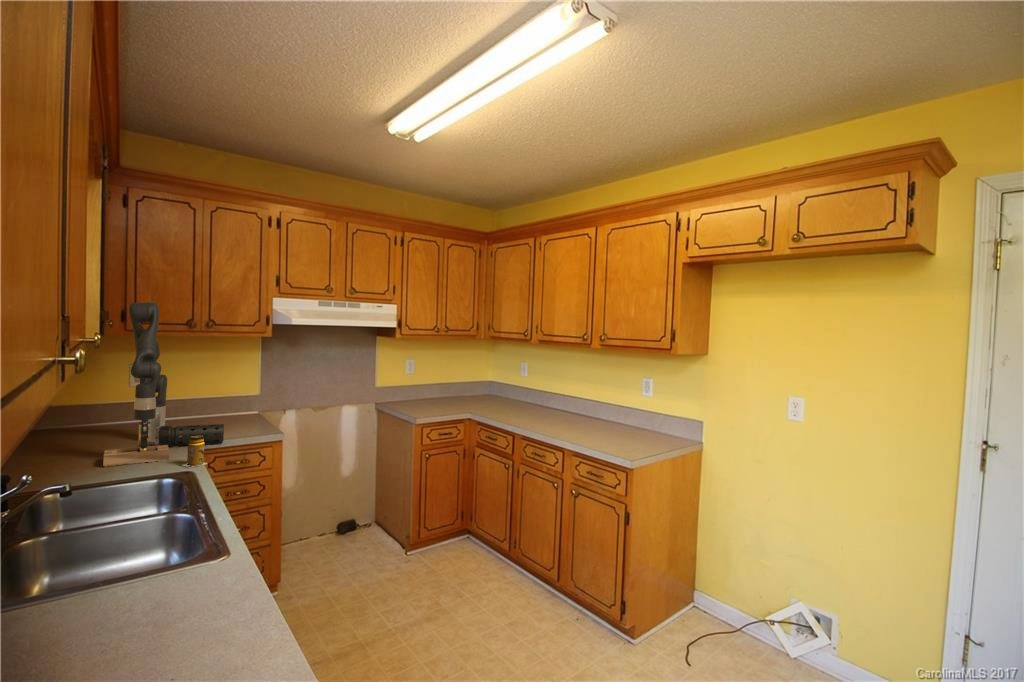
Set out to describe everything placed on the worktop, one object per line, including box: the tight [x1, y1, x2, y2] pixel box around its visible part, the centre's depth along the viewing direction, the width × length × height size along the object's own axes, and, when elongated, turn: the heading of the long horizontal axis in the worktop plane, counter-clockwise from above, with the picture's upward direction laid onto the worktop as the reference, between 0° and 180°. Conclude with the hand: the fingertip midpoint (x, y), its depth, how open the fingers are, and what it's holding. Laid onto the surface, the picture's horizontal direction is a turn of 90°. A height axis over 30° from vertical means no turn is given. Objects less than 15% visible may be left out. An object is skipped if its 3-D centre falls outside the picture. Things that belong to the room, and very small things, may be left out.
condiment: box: [186, 435, 208, 468], centre depth 210 cm, size 7×8×12 cm
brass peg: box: [137, 427, 150, 452], centre depth 213 cm, size 5×5×14 cm
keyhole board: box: [102, 445, 170, 467], centre depth 212 cm, size 12×22×4 cm, turn 128°
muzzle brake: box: [154, 423, 225, 448], centre depth 241 cm, size 10×28×10 cm, turn 120°
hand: (143, 446), depth 213 cm, fingers closed on brass peg, 3 cm apart
